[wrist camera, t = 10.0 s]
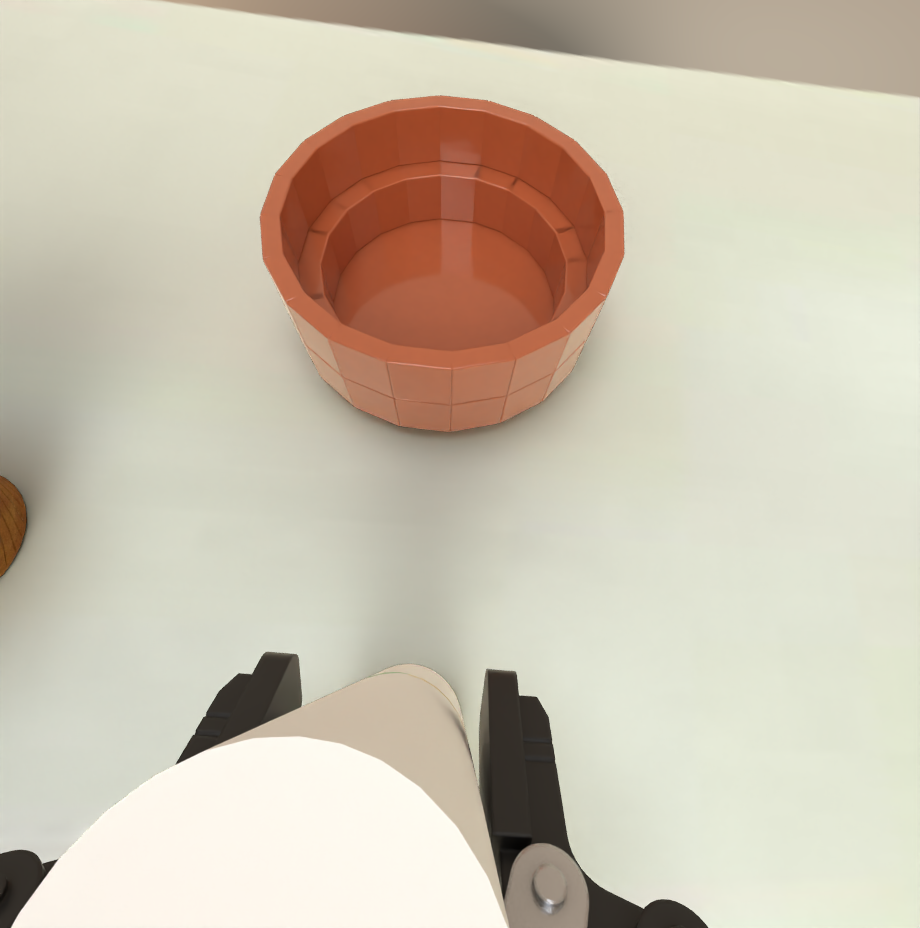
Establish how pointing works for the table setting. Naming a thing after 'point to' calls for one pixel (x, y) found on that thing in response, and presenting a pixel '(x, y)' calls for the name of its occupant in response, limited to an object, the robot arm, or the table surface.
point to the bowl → (442, 257)
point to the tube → (298, 827)
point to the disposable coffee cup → (10, 523)
